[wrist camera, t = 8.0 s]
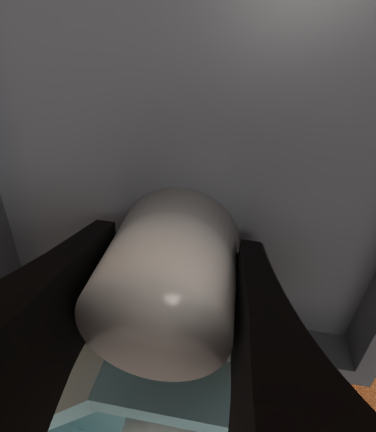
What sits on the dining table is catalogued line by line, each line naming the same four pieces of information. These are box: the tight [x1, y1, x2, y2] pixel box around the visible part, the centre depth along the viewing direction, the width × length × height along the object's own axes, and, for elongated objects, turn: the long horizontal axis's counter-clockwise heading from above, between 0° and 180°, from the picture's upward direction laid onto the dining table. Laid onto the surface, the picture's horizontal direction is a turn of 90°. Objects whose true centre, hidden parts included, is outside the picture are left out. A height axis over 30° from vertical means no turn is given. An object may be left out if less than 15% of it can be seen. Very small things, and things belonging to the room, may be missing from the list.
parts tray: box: [0, 0, 376, 387], centre depth 9 cm, size 14×16×2 cm
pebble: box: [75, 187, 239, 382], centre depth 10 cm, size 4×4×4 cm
